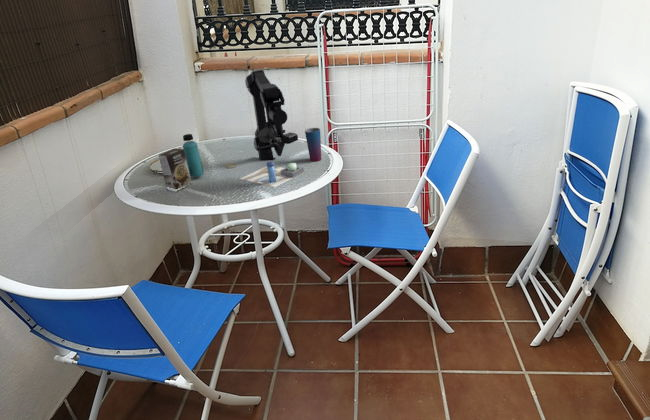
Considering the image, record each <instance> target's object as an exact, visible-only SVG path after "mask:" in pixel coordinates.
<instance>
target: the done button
mask: <svg viewBox="0 0 650 420" xmlns="http://www.w3.org/2000/svg"><path fill="white" fill-rule="evenodd" d="M296 166H297V163H296V162H289V163H287V164H286V168H287V170H288V171H291V172H293V171H295V170H297V167H296Z"/></svg>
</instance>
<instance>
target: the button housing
mask: <svg viewBox="0 0 650 420" xmlns="http://www.w3.org/2000/svg"><path fill="white" fill-rule="evenodd" d="M296 167H297V170H295V171H293V172H291V171H288V170H287V167H284V168H285V169H283V170H281V175H283V176H288V177H293V178H292V179H294V178H295V176H296V177H297V175H298V176H299V175H301V174H303V173H305V168H304V167H303V166H298V165H296Z"/></svg>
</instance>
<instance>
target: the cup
mask: <svg viewBox="0 0 650 420" xmlns="http://www.w3.org/2000/svg"><path fill="white" fill-rule="evenodd" d="M304 134H305V139H306V144H307V151H308V155H309V160H310V162H311V163H317V162H320V161H322V142H321V141H322V140H321V128H319V127H310V128H307V129H305V130H304Z"/></svg>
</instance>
